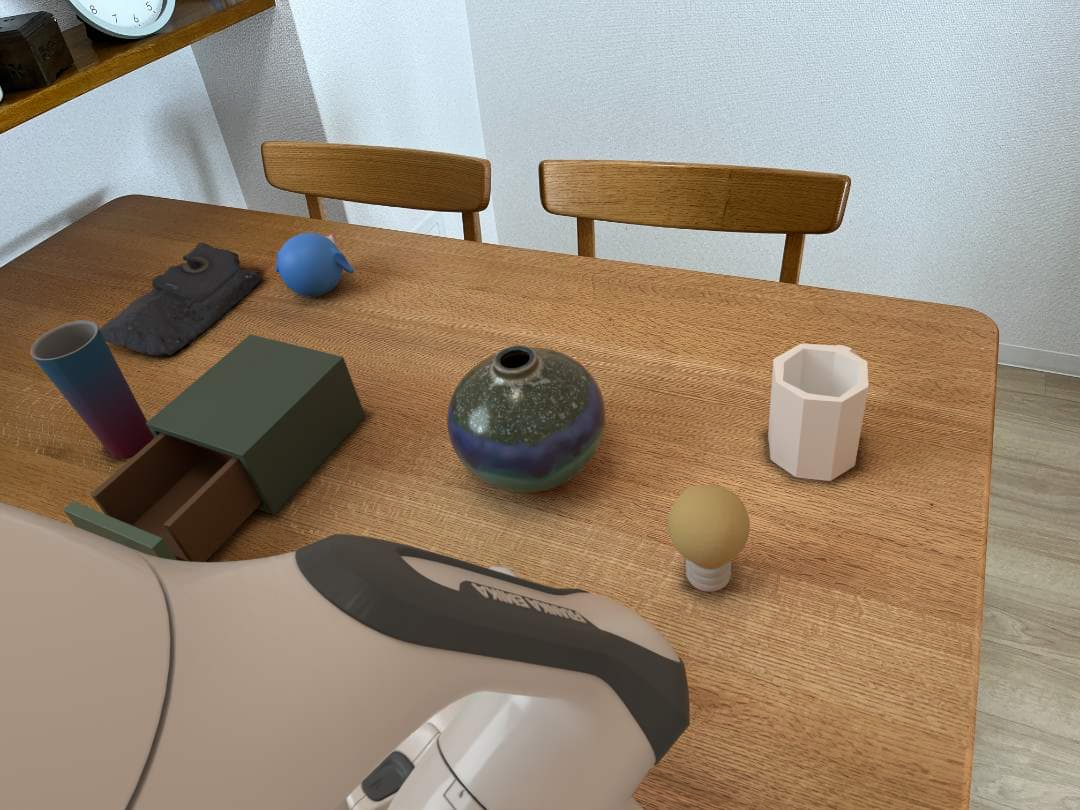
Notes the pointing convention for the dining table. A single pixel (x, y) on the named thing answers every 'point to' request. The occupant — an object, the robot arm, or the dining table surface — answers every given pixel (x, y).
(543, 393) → the vase
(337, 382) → the cabinet
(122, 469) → the drawer
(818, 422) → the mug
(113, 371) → the cup
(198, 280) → the dark slate chunk
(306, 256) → the blue mole toy
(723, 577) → the light bulb
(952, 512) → the dining table surface
